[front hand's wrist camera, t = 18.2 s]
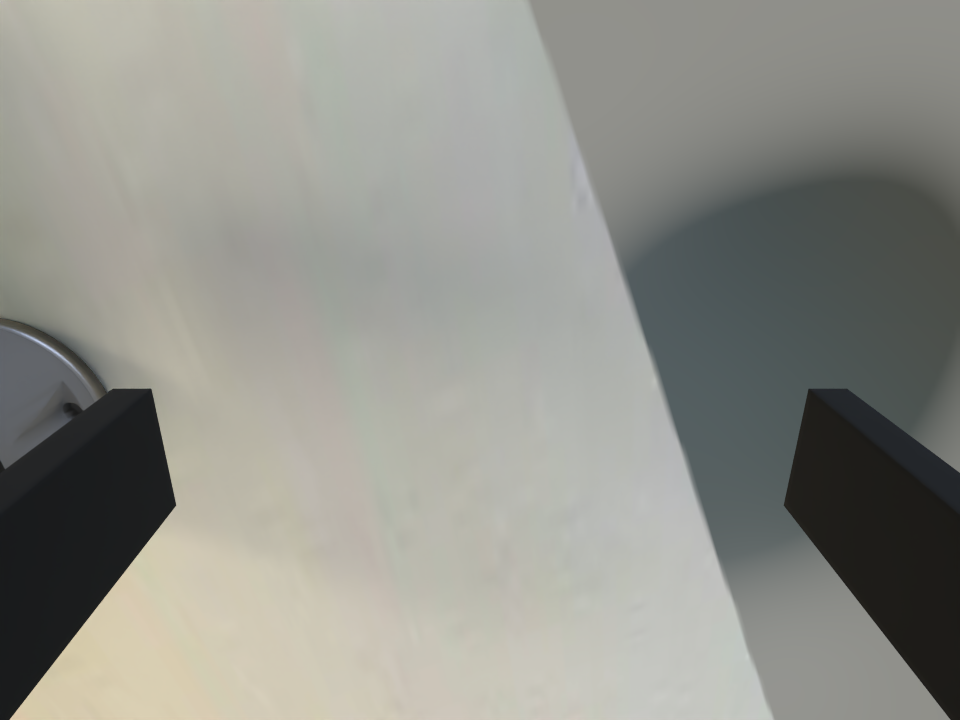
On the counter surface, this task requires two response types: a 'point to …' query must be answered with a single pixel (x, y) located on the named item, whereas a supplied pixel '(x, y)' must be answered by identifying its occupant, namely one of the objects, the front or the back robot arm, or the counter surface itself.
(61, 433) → the front robot arm
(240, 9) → the counter surface
